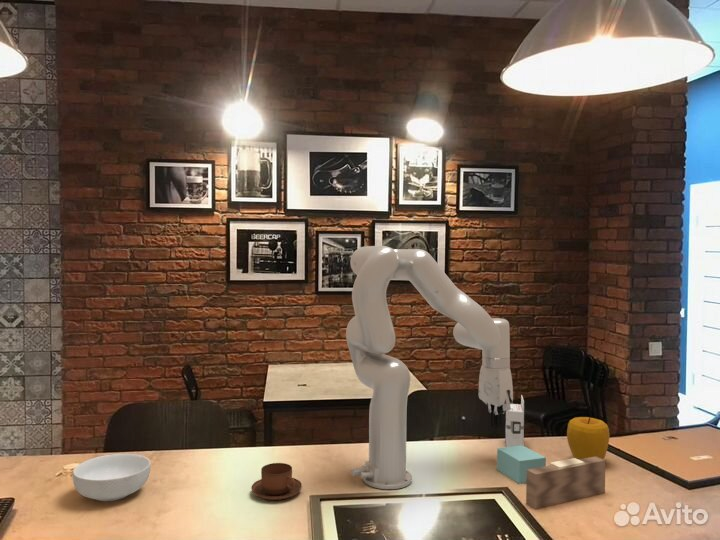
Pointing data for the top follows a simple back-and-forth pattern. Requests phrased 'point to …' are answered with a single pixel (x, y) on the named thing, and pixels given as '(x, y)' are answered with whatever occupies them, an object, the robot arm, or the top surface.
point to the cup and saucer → (276, 482)
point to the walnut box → (565, 481)
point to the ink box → (515, 424)
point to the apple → (588, 437)
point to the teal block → (518, 462)
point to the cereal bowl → (111, 476)
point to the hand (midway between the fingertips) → (496, 427)
